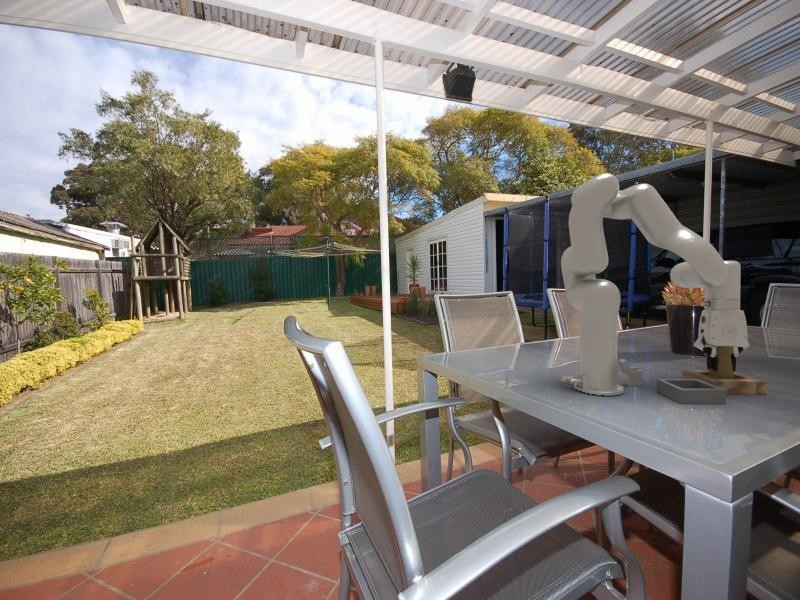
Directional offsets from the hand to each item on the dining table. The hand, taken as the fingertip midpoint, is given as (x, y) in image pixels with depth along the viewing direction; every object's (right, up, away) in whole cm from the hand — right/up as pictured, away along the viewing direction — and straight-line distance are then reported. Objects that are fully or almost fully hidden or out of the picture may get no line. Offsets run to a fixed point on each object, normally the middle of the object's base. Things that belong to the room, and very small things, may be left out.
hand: (721, 369), depth 106 cm
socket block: (0, -5, 0) cm, 5 cm away
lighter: (-22, -6, +6) cm, 24 cm away
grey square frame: (-14, -6, -7) cm, 17 cm away
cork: (0, -4, 0) cm, 4 cm away
